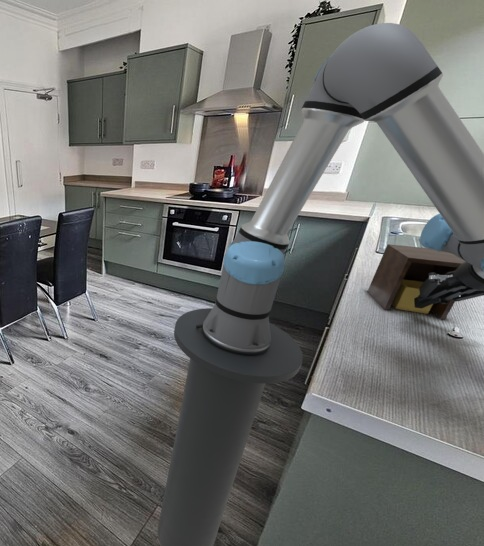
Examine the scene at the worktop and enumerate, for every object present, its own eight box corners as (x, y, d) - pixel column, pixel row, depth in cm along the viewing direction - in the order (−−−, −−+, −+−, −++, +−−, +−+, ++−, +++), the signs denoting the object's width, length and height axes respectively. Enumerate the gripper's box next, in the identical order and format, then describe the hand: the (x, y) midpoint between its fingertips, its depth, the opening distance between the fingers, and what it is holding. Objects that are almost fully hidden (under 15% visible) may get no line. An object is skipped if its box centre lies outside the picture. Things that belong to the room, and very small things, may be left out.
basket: (427, 313, 88) (439, 291, 85) (395, 308, 91) (405, 287, 88) (415, 303, 94) (426, 282, 91) (385, 298, 96) (395, 278, 94)
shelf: (445, 319, 85) (475, 265, 79) (384, 309, 90) (408, 257, 84) (420, 299, 96) (445, 249, 90) (367, 291, 101) (387, 244, 94)
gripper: (454, 279, 67) (388, 311, 88) (542, 291, 62) (450, 321, 83) (450, 249, 69) (387, 286, 90) (536, 258, 65) (448, 295, 85)
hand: (417, 303), depth 86 cm, fingers closed
